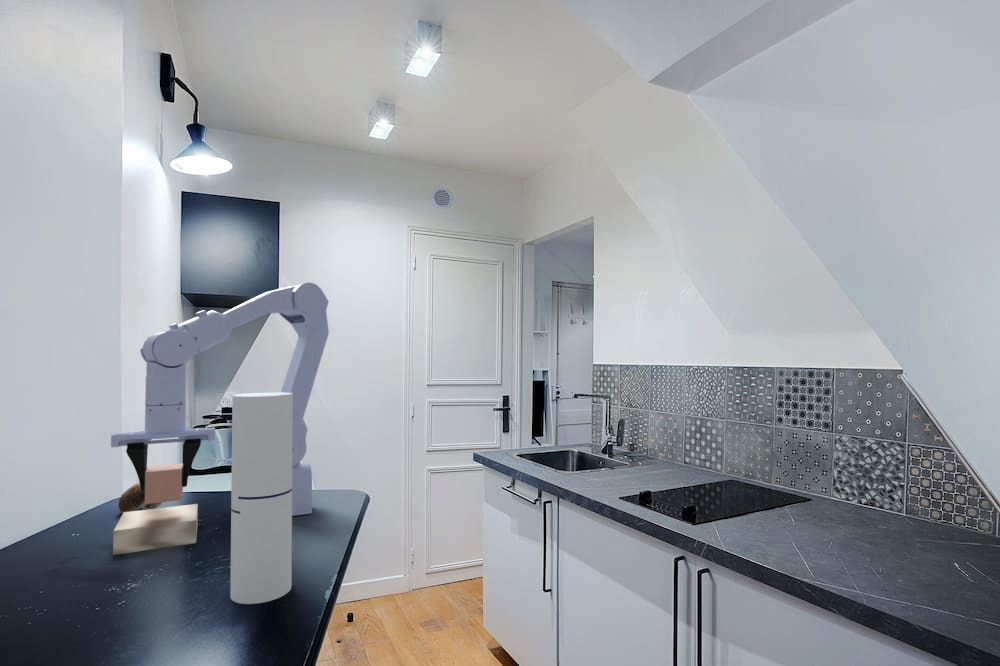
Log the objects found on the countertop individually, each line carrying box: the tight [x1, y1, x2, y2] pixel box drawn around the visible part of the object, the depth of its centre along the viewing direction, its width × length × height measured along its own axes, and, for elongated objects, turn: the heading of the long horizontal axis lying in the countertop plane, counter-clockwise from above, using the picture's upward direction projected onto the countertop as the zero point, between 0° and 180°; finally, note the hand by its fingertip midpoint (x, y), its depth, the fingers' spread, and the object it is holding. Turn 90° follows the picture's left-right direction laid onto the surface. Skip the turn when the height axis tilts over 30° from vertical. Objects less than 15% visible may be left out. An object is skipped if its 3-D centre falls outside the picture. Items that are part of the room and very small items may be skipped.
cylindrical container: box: [229, 391, 293, 605], centre depth 70 cm, size 7×7×25 cm
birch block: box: [112, 503, 199, 556], centre depth 91 cm, size 11×11×4 cm
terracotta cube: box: [145, 463, 184, 504], centre depth 90 cm, size 5×5×5 cm
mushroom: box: [118, 481, 163, 514], centre depth 106 cm, size 8×8×6 cm
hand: (164, 487), depth 90 cm, fingers closed on terracotta cube, 5 cm apart
